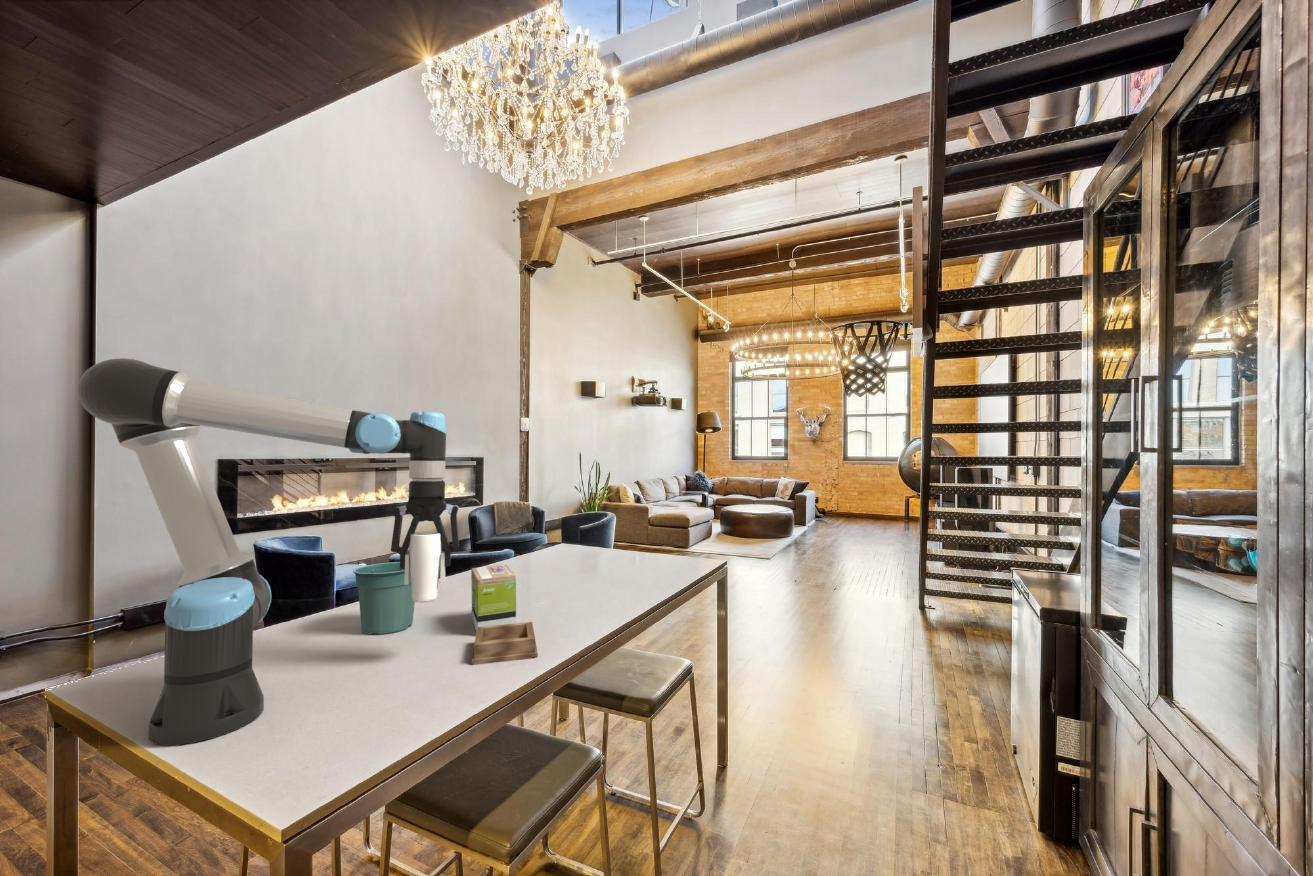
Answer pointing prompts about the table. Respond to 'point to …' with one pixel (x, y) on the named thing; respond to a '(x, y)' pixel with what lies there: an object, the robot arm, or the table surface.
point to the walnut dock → (504, 643)
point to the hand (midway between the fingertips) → (425, 582)
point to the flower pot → (384, 598)
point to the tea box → (493, 596)
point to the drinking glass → (425, 565)
